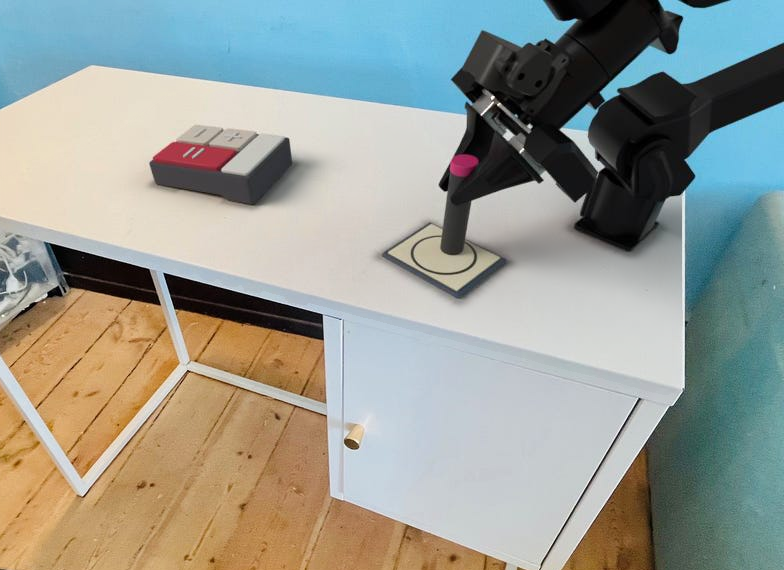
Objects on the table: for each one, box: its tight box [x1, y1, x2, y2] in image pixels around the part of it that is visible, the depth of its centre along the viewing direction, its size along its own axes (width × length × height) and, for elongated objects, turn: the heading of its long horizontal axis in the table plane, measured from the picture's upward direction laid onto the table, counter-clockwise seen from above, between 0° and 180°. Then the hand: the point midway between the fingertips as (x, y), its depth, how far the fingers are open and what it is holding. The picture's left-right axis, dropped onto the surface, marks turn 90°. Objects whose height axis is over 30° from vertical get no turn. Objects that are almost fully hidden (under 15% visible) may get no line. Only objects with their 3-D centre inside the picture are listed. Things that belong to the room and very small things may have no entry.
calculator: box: [148, 124, 293, 205], centre depth 73 cm, size 11×4×15 cm
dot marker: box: [440, 154, 479, 255], centre depth 56 cm, size 2×2×10 cm
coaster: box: [381, 221, 507, 299], centre depth 60 cm, size 10×8×1 cm
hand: (446, 195), depth 55 cm, fingers closed on dot marker, 2 cm apart
